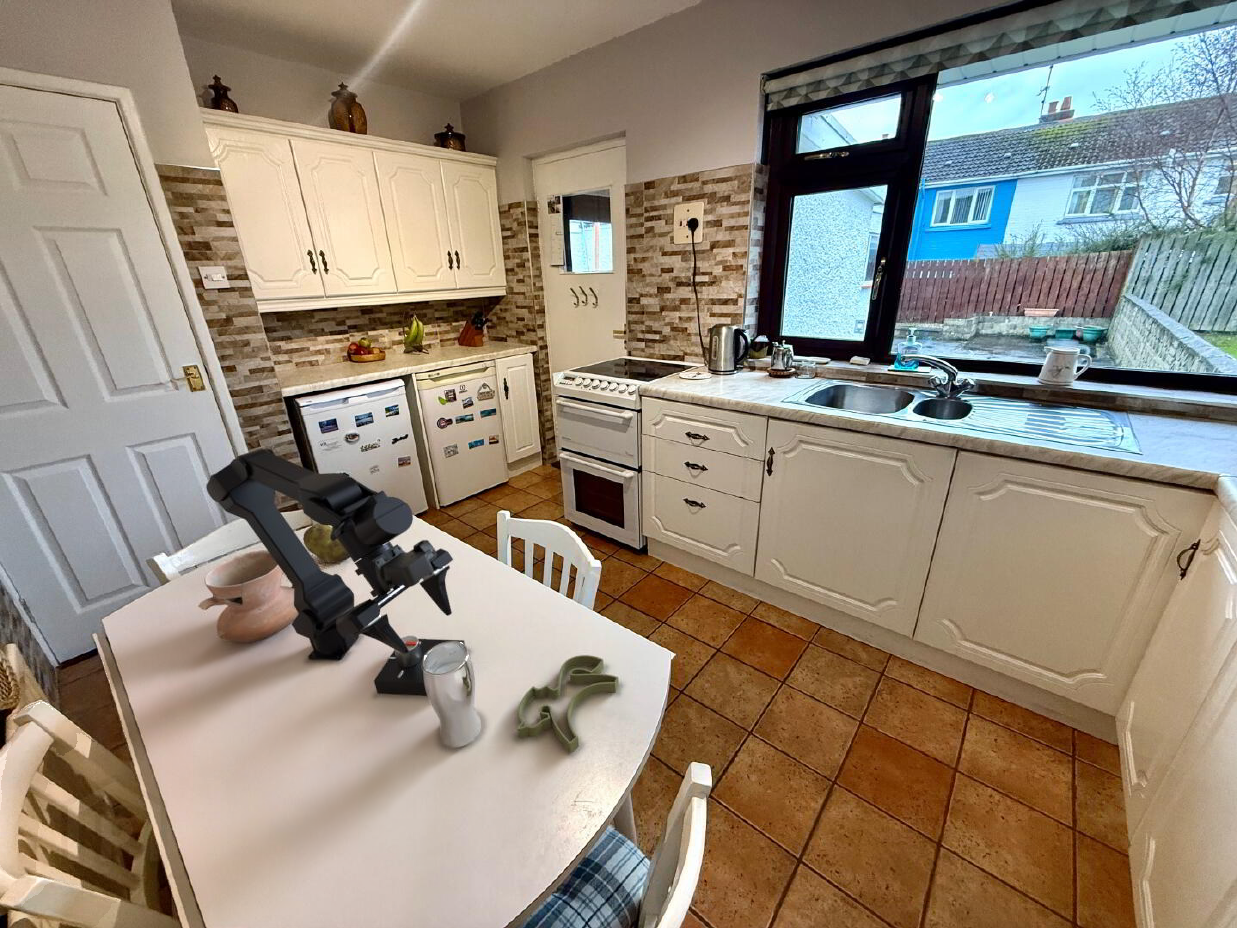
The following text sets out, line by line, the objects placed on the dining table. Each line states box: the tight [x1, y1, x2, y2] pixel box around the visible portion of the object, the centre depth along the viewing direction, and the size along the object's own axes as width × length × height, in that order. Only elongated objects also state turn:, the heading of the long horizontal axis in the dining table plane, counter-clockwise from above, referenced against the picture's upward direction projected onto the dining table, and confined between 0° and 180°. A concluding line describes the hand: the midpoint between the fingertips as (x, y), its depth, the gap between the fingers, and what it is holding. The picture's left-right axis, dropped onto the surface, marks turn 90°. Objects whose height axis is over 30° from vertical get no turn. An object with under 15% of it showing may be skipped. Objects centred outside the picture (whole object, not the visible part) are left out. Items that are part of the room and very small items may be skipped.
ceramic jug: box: [197, 549, 299, 644], centre depth 97 cm, size 18×14×14 cm
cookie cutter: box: [517, 654, 620, 754], centre depth 80 cm, size 18×12×2 cm, turn 149°
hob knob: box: [393, 635, 422, 668], centre depth 85 cm, size 4×4×4 cm
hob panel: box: [373, 638, 466, 697], centre depth 86 cm, size 12×10×3 cm
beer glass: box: [421, 641, 482, 749], centre depth 73 cm, size 7×7×15 cm
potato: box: [302, 523, 351, 563], centre depth 120 cm, size 8×13×8 cm, turn 49°
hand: (429, 632), depth 77 cm, fingers open, 9 cm apart
